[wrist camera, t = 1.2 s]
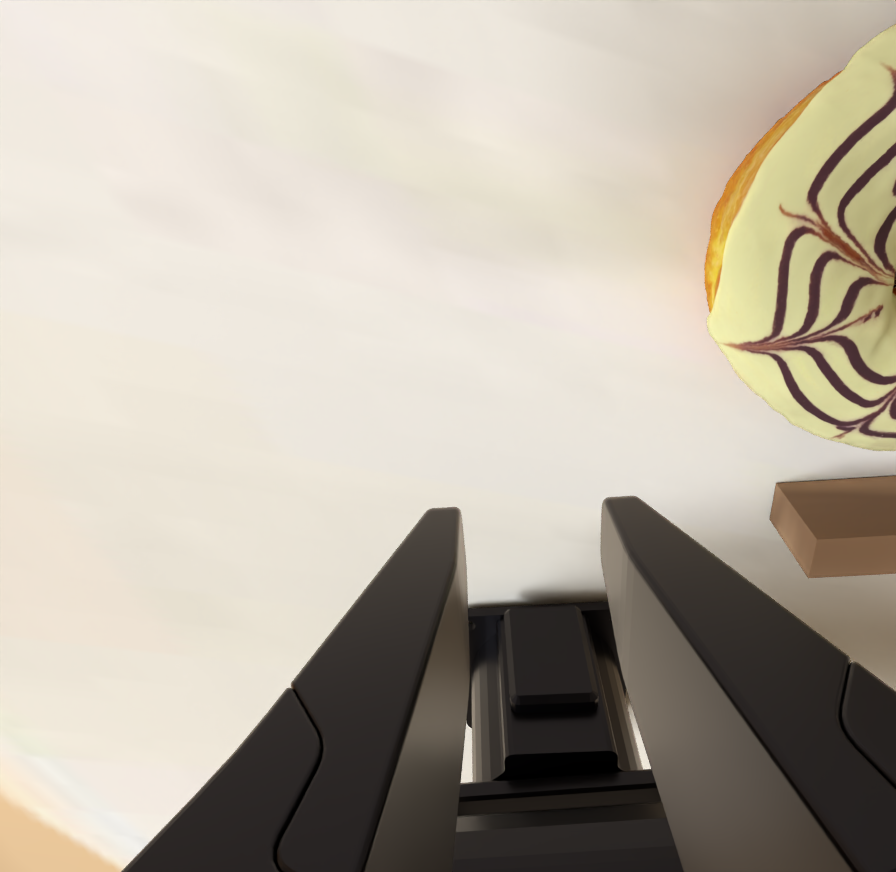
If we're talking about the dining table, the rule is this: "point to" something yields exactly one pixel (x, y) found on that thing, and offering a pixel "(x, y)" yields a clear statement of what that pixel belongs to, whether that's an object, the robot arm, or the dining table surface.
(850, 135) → the decorated donut
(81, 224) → the dining table surface
